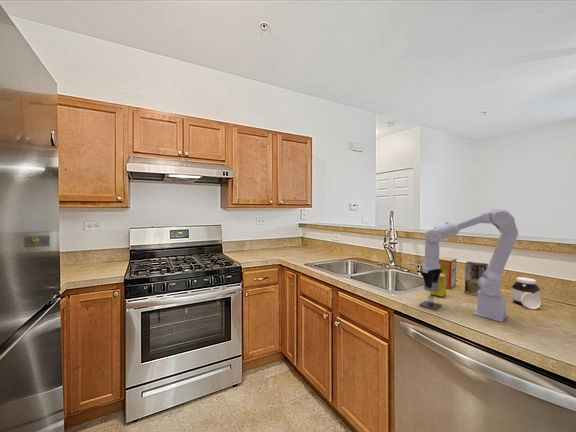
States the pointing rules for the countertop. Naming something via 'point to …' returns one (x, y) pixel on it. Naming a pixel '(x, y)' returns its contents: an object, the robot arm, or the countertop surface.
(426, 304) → the square base with peg
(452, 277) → the baking soda box
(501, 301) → the robot arm
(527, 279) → the spread jar
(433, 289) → the octagonal tube
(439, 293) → the supplement box
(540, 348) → the countertop surface
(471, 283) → the coffee box
